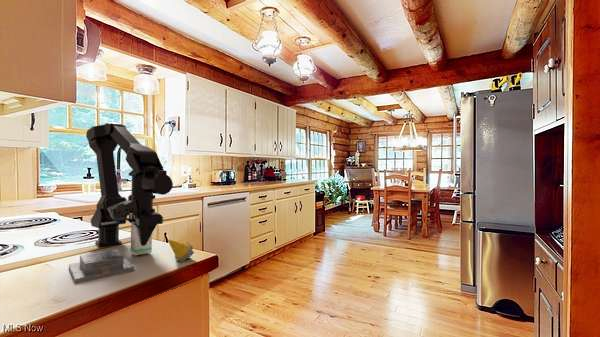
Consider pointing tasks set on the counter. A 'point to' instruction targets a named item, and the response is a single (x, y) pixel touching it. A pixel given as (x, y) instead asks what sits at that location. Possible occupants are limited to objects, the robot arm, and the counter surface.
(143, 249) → the column
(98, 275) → the stand
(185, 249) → the yellow-green tapered piece
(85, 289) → the counter surface
